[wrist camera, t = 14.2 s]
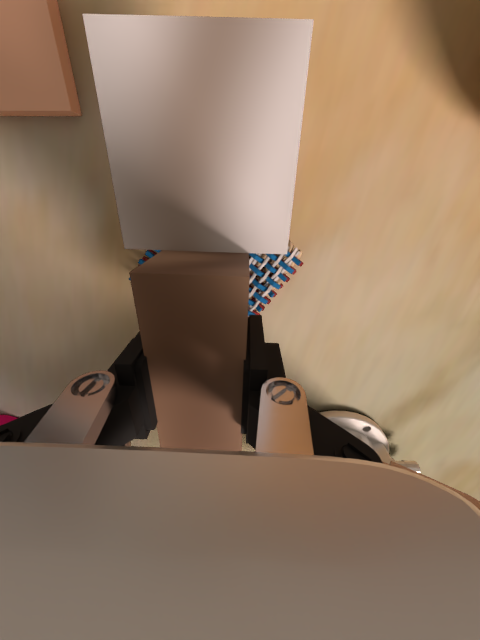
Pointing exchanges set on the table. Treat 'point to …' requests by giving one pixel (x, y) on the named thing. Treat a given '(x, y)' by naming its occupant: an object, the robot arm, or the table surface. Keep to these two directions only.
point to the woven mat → (262, 274)
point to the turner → (199, 192)
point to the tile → (35, 61)
